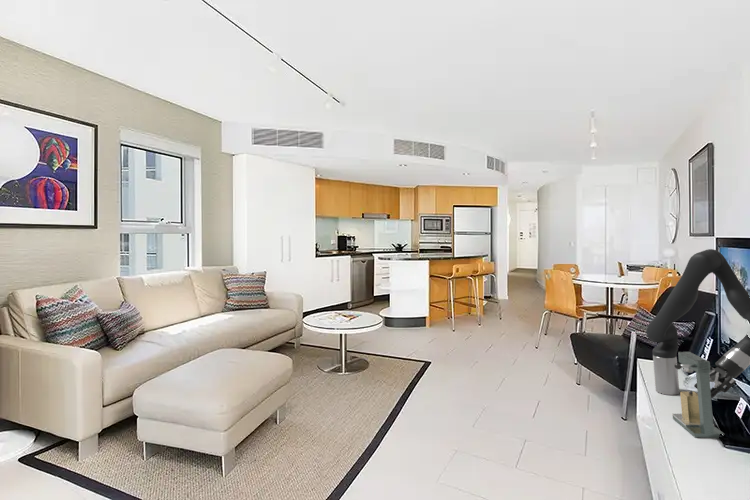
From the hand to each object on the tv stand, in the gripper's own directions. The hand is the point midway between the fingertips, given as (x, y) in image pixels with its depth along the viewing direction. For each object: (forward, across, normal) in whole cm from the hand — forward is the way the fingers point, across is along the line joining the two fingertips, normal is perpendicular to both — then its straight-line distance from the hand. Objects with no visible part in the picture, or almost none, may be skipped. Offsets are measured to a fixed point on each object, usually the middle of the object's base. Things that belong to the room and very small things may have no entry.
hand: (702, 392), depth 160 cm
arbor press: (+13, +3, +5) cm, 14 cm away
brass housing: (+10, 0, +5) cm, 11 cm away
